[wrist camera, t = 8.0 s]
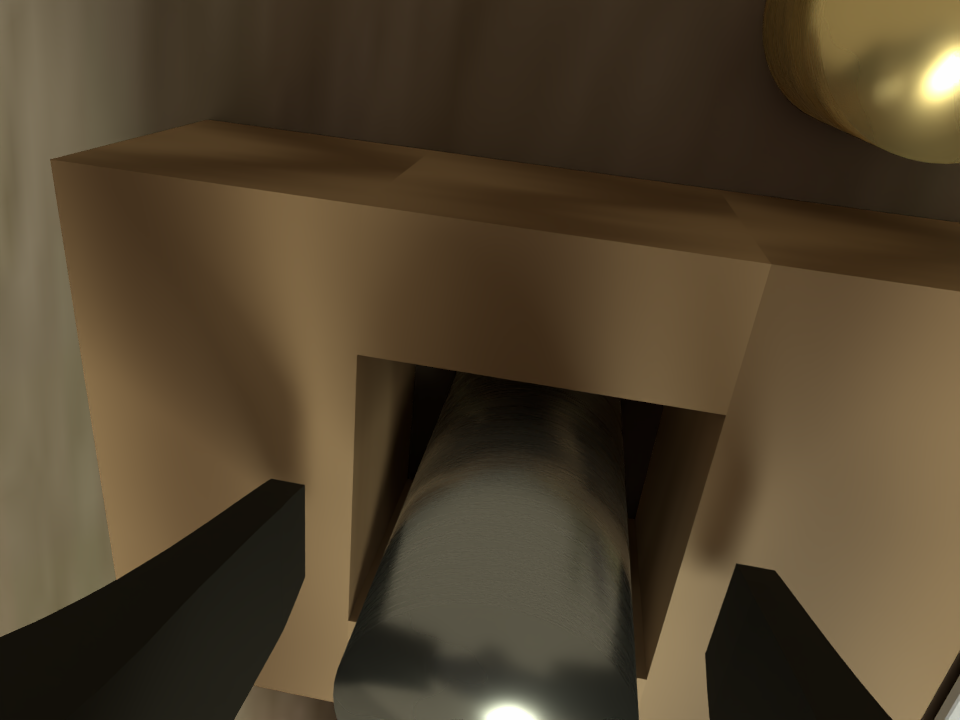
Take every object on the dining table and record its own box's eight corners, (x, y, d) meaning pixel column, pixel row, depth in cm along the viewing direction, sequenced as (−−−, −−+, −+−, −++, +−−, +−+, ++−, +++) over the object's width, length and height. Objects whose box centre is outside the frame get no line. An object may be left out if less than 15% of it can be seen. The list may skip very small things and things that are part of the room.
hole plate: (974, 224, 14) (1146, 318, 10) (804, 627, 19) (867, 814, 15) (207, 119, 16) (50, 159, 11) (231, 519, 20) (128, 659, 16)
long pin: (633, 332, 16) (668, 638, 8) (606, 477, 18) (612, 847, 10) (460, 310, 17) (330, 580, 9) (450, 454, 18) (334, 790, 10)
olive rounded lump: (1044, -108, 12) (1236, -163, 8) (950, 139, 14) (1075, 181, 10) (799, -131, 12) (880, -194, 9) (737, 113, 14) (784, 144, 10)
